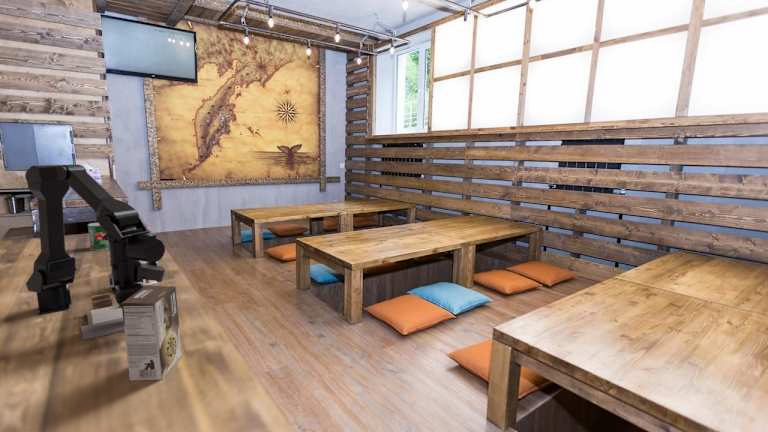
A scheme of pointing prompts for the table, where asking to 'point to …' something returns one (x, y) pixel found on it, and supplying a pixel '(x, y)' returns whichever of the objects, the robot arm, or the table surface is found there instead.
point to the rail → (104, 314)
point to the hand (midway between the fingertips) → (130, 316)
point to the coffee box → (151, 332)
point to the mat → (102, 328)
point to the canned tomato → (97, 237)
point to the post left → (101, 301)
